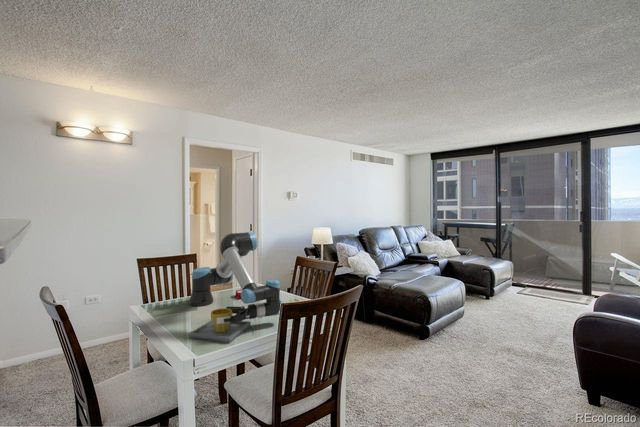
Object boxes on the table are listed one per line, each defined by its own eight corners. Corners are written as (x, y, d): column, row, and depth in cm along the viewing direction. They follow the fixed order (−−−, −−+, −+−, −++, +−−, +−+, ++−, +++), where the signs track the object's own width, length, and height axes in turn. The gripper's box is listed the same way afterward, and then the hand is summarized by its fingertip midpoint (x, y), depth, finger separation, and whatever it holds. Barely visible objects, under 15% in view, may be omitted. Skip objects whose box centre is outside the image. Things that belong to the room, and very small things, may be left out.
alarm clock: (247, 288, 236) (252, 289, 223) (248, 297, 235) (252, 298, 222) (233, 290, 232) (237, 290, 218) (233, 299, 231) (237, 299, 217)
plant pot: (226, 334, 158) (226, 315, 157) (207, 333, 159) (207, 314, 159) (235, 327, 168) (235, 308, 168) (217, 325, 170) (217, 307, 169)
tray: (214, 322, 177) (214, 317, 177) (250, 326, 172) (250, 321, 172) (189, 338, 156) (189, 333, 156) (229, 343, 150) (229, 338, 150)
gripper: (261, 325, 160) (218, 332, 151) (250, 310, 183) (212, 316, 174) (261, 310, 160) (218, 317, 151) (250, 297, 183) (212, 302, 173)
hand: (214, 316), depth 162 cm, fingers open, 13 cm apart
